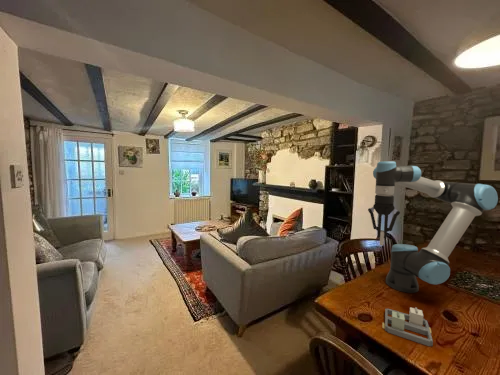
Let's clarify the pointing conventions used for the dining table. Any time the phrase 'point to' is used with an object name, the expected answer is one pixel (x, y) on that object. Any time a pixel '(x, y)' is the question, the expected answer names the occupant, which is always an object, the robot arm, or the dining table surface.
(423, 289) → the dining table surface
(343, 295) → the dining table surface
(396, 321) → the sage tab
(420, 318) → the ivory tab
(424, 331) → the switch bank
